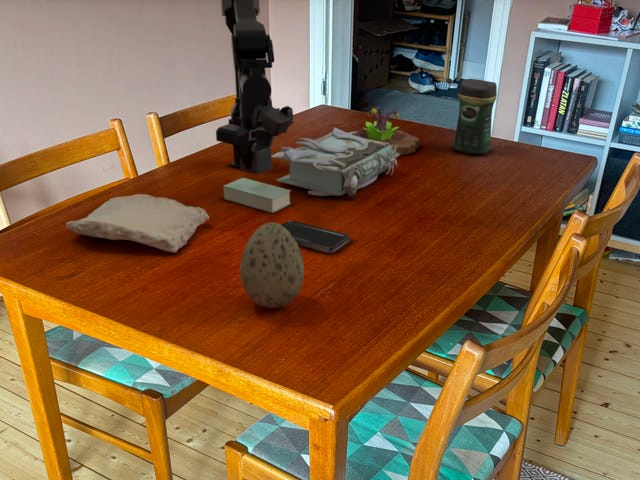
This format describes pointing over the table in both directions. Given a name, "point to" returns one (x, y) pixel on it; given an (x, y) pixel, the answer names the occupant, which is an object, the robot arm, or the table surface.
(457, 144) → the coffee jar
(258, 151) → the block
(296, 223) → the phone
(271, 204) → the pocket book
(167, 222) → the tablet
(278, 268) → the decorative egg
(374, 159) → the ornate book
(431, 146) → the table surface
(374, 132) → the plant
